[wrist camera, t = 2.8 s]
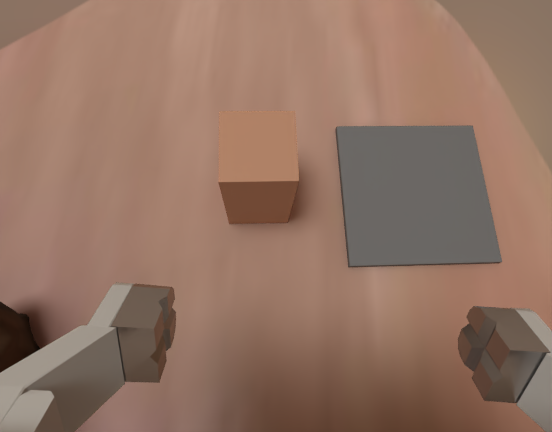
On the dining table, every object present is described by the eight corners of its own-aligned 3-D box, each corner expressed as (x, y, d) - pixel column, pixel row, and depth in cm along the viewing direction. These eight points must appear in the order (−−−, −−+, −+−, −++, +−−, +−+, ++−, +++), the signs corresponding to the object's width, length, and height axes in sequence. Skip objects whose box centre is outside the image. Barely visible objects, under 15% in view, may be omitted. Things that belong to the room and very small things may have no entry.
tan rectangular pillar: (287, 222, 35) (299, 180, 25) (229, 223, 34) (218, 182, 25) (285, 169, 36) (295, 111, 27) (229, 169, 36) (219, 111, 26)
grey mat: (498, 262, 35) (502, 261, 34) (348, 267, 34) (349, 265, 33) (469, 128, 39) (472, 125, 38) (335, 129, 38) (336, 126, 37)
